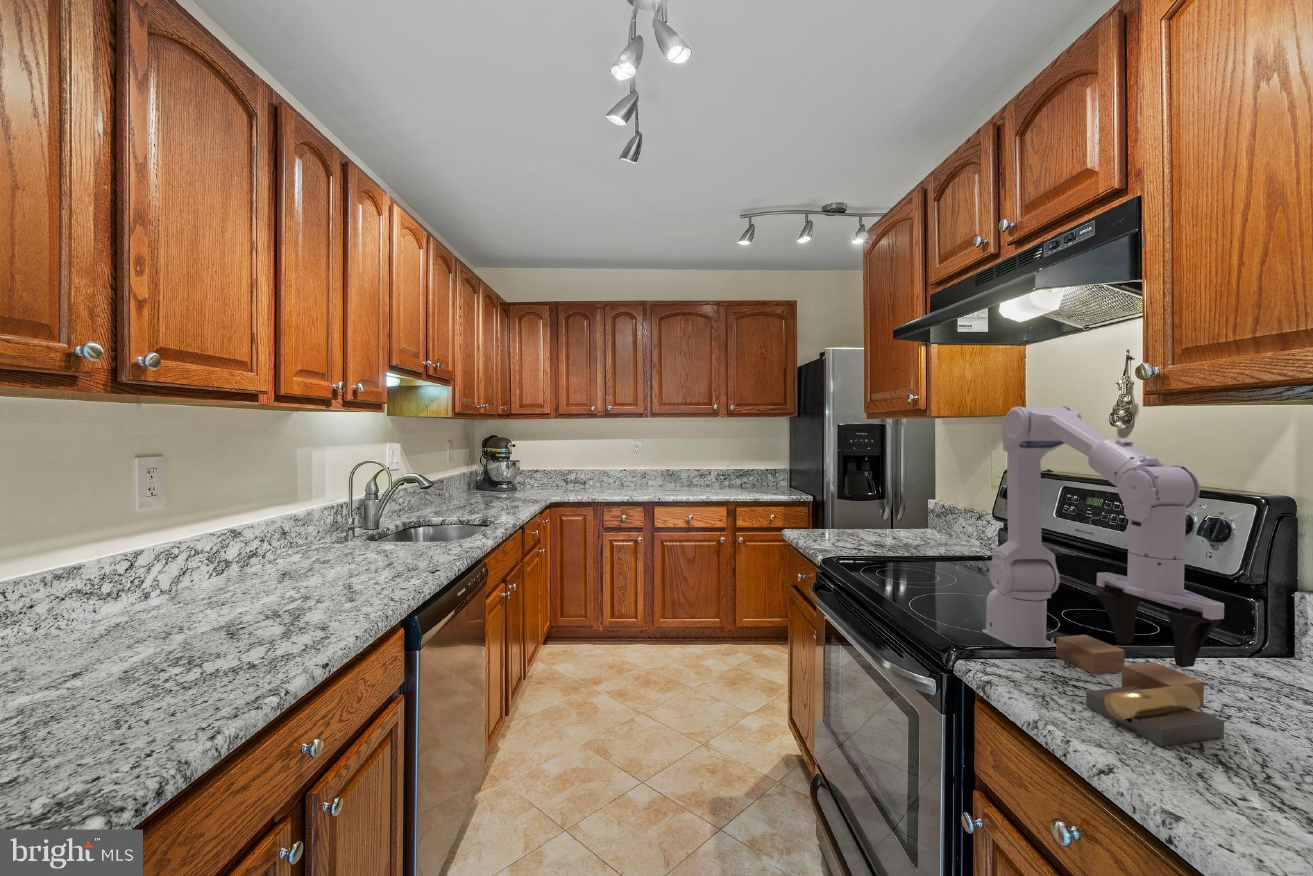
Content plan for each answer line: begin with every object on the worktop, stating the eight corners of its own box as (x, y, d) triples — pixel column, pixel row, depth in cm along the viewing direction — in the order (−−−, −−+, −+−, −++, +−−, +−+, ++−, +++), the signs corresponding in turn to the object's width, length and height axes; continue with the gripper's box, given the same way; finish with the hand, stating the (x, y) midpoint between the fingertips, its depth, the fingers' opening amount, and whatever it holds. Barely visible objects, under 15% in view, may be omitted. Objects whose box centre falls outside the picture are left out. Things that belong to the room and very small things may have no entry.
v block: (1086, 706, 80) (1086, 691, 79) (1142, 699, 81) (1142, 685, 81) (1161, 746, 70) (1162, 729, 70) (1223, 737, 72) (1224, 721, 72)
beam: (1056, 656, 96) (1056, 637, 96) (1084, 653, 98) (1085, 634, 97) (1170, 709, 79) (1170, 685, 79) (1203, 705, 80) (1204, 682, 80)
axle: (1128, 724, 73) (1127, 699, 73) (1104, 713, 76) (1103, 689, 76) (1200, 714, 75) (1199, 690, 75) (1174, 704, 78) (1173, 681, 78)
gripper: (1080, 544, 81) (1078, 635, 82) (1193, 570, 67) (1190, 680, 67) (1119, 542, 83) (1117, 631, 83) (1238, 567, 68) (1235, 675, 69)
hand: (1153, 653), depth 75 cm, fingers open, 7 cm apart
